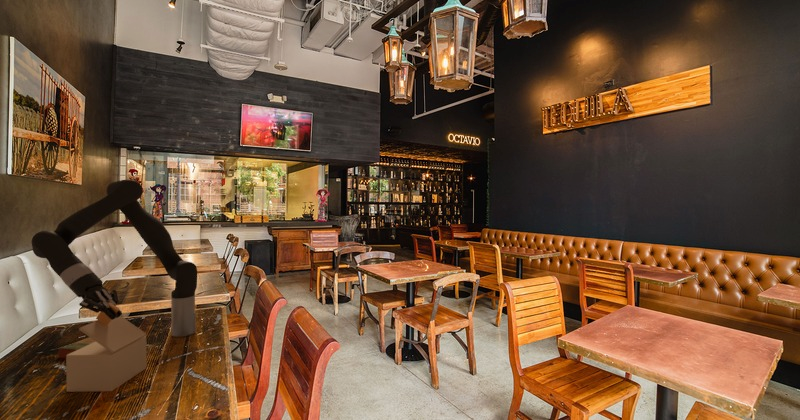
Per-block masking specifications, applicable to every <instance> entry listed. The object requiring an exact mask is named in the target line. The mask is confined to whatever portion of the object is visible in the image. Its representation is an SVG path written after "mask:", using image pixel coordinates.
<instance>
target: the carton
mask: <svg viewBox="0 0 800 420" xmlns="http://www.w3.org/2000/svg"><path fill="white" fill-rule="evenodd" d="M94 342H96V341H94V340H93V339H92V338H90V337H89V336H87V337H86V338H83V339H81V340H77V341H75V342H73V343H70V344H68V345H64V346H62V347H59V349H58V359H66V355H68V354H70V353H72V352H74V351H76V350H79V349H81V348H83V347H85V346H87V345H89V344H91V343H94Z"/></svg>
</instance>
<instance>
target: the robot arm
mask: <svg viewBox="0 0 800 420" xmlns="http://www.w3.org/2000/svg"><path fill="white" fill-rule="evenodd" d="M143 193H144V190H143V185H142V184H141V183H140V182H138V181H137V180H134V179H129V178H128V179H121V180H116V181H112V182H110V183H109V184H108V185H107V187H106V196H104V197H102V198H101V199H99V200H97V201H95V202H93V203H92V204H89V205H87V206H85V207H84V208H81V209H79V210H77V211H76V212H73V213H72V214H70V215H69V216H68V217H66V218H64V219H63V220H61V221H59V223H58V224H57V226H56V228H55V230H53V231H52V230H41V231H38V232H36V233H35V234H34V235H33V236H32V238H31V249H32V252H33V254H34V255H35V256H36V257H38V258H40V259H46V260H47V261H48V263H49V264H48V265H49V266H50V268H51V270H53V271H54V273H55V274H56V275H57V276H59V278H60V279H61V280H62V282H63V283H64V284H65V285H66V286H67V287H68V288H69V289H70V290H71V291H72V292H73V294H75V296H76V297H78V298H82V301H81V302H79V304H78V305H79V307H83V308H84V309H87V310H89V311H92V312H94V313H97V314H99V313H100V312H104V313H105V314H106V315H107V316H108V317H109V318H110V319H112V320H113V319H115V318H118V317H120V316H122V315H123V312H122V311H121V310H120V309H119V311H118V312H117V313H116V312H115V311H114V310H113V309H112V308H111V307H110V306H109V305H108V304H107V303H109V302H111V303H112V304H113V305H115V306H116V307H117V304H118V303H119V302H120V301H119V297H118V292H117V290H116V289H112V290H108V289H107V288H106V287H104V286H103V283H104V282H103V280H102V279H101V278H100V277H98V275H97V274H96V273H94V271H93V269H91V268H90V267H88V266H87V265H86V264H85V263H84V262H83V261H82V260H81V258H79V257H78V256H77V255H75V254H74V252H73V251H72V250H71V248H70V246H69V245H71V244H72V243H73V242H74V241H75V239H77V238H78V237H80V236H81V235H83V234H85V232H87V231H88V230H90V229H91V228H93V226H95V225H97V224H98V223H99V222H101V221H102V220H104V219H106V218H107V217H108V216H110V215H112V214H113V213H114V212H117V211H118V210H120V212H121V213H122V214H123V215H124V216H125V217H126V219H127V220H128V222H129V223H130V224H131V225H132V226H133V228H134V229H135V230H136V232H137V233H138V235H139V236H140V237H141V239H142V240H143V241H144V242H145V244H146V245H147V246H148V247H149V249H150V251H152V253H153V254H154V255H155V256H156V258H158V259H159V261H160V263H161V264H162V266H163V268H164V270H165V272H166V273H167V274H168V276H169V277H170V279H171V280H173V281H175V288H174V289H173V290H171V294H170V295H171V296H170V297H171V303H170V304H171V307H170V308H171V318H170V319H171V330H170V331H171V336H172V337H174V338H180V337H186V336H187V337H188V336H190V335H194V334H196V333H197V330H196V329H197V328H196V321H197V319H196V290H197V288H198V268H197V265H196V264H195V263H194V262H192V261H186V260H184V259H183V258H182V257H181V255H179V253H178V252H177V251H176V249H175V247H174V244H173V240H172V237H171V234H170V233H169V231H168V230H167V228H166V227H165V225H164V224H163V223H162V221H160V220H159V219H158V218H157V217H156V216H154V215H153V214H151V213H150V212H149V211H147V210H146V209H144V207H143V206H142V205H141V204H140V203H139V202H138V201H139V199H140V198H141V197H142V196H143ZM109 307H110V308H109Z"/></svg>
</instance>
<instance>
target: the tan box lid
mask: <svg viewBox="0 0 800 420" xmlns="http://www.w3.org/2000/svg"><path fill="white" fill-rule="evenodd" d="M107 304H108V305H109V306H110V307H111V308H112V309H113V310H114V311H115V312H116V313H117V312H118V311H119V310H120V308H119V307H118V306H117V305H116V306H115V305H113V304H112V303H111V302H109V303H107ZM110 307H109V308H110ZM95 319H96V320H95V321H93V322H91V323H88V324H85V325H83V326H80V327H79V329H78V330H79V331H81V333H83V334H84V335H86V336H87V337H90V338H92V339H93V340H94V341H96V342H97V343H99V344H100V345H101V346H103V347H104V348H106V349H107V350H108V351H110V352H111V353H114V352H116V351H118V350H120V349H122V348H124V347H125V346H127V345H129V344H131V343H133V342H135V341H137V340H139V339H140V338H142V337H144V336H146V337H147V333H146V332H145V331H144V330H142V329H140V328H139V327H137V326H136V325H134V324H133V323H132V322H130V321H129V320H128V319H126V318H124V317H123V316H122V315H121V316H120V317H118V318H115V319H113V320H112V319H110V318H109V317H108V316H107V315H106V314H105V313H104V312H99V313H98V315H97V316H96V318H95Z"/></svg>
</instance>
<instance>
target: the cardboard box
mask: <svg viewBox="0 0 800 420" xmlns="http://www.w3.org/2000/svg"><path fill="white" fill-rule="evenodd" d="M65 361H66V392H68V393H69V392H113V391H114V390H116V389H117V388H118V387H119V388H120V386H122V385H123V384H125V383H126V382H128V381H129V380H131V379H133V378H134V377H135V376H137V375H138V374H140V373H141V372H142V371H145V370H146V369H147V335H146V336H144V337H142V338H140V339H139V340H137V341H135V342H133V343H131V344H129V345H127V346H125V347H124V348H122V349H120V350H118V351H116V352H114V353H111V352H110V351H108V350H107V349H106V348H104V347H103V346H101V345H100V344H99V343H97V342H94V343H91V344H89V345H87V346H85V347H83V348H81V349H79V350H76V351H74V352H72V353H70V354H68V355H66V358H65Z"/></svg>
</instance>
